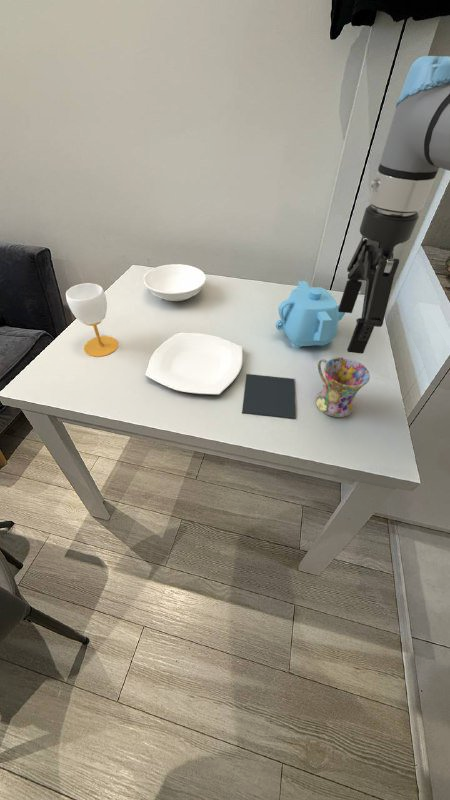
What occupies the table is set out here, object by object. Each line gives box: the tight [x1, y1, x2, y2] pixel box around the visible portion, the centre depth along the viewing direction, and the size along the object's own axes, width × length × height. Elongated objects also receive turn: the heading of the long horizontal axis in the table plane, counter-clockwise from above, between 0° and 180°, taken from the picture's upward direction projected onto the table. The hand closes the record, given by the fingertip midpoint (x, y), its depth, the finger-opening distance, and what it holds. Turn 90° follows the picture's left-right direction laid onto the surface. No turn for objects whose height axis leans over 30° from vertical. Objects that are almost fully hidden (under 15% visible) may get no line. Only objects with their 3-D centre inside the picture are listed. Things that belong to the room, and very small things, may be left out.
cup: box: [65, 282, 119, 358], centre depth 83 cm, size 9×9×16 cm
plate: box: [145, 332, 244, 396], centre depth 83 cm, size 23×23×2 cm
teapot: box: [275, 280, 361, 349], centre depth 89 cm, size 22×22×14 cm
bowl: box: [142, 263, 207, 302], centre depth 106 cm, size 20×20×6 cm
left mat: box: [241, 373, 297, 420], centre depth 77 cm, size 13×12×1 cm
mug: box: [315, 356, 371, 418], centre depth 73 cm, size 12×9×11 cm
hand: (349, 330), depth 63 cm, fingers open, 13 cm apart
